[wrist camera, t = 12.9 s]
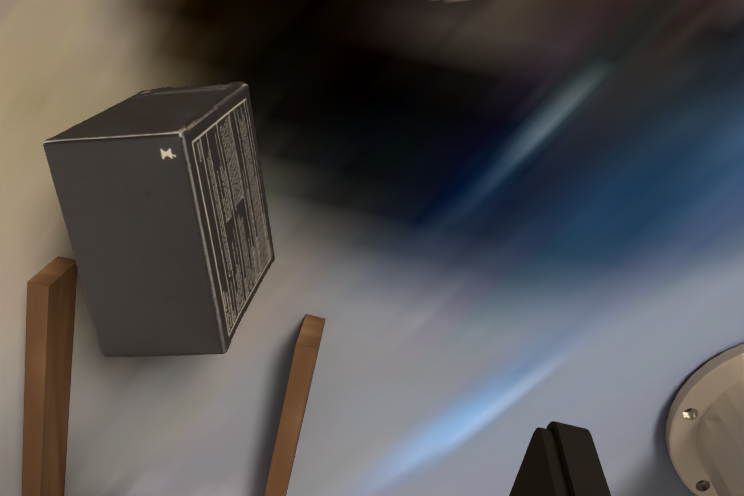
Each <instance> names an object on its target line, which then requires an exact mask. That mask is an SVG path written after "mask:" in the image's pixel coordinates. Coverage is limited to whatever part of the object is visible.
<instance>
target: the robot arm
mask: <svg viewBox="0 0 744 496" xmlns="http://www.w3.org/2000/svg"><path fill="white" fill-rule="evenodd" d="M665 440H666V445H667V450H668V455H669V457H670V459H671V461H672V464H673V466H674V468H675V470H676V472H677V474H678V475H679V477H680V478H681V480H682V482H683V483H684V484H685V485H686V486H687V487H688V488H689V489H690V490H691V491H692V492H693V493H694V494H695V495H697V496H744V344H741V345H739V346H736V347H734V348H732V349H729V350H727V351H725V352H723V353H722V354H720V355H718V356H717V357H715V358H713V359H712V360H710V361H708V362H707V363H706V364H705V365H703V366H702V367H701V368H700V369H699V370H698V371H696V372H695V373H694V374H693V375H692V376H691V377H690V378H689V379H688V381H687V382H686V383H685V384H684V386H683V387H682V388H681V389H680V390H679V392H678V394H677V396H676V398H675V400H674V401H673V403H672V405H671V407H670V411H669V414H668V418H667V421H666V433H665ZM509 496H611V494H610V491H609V488H608V485H607V482H606V479H605V476H604V473H603V470H602V467H601V464H600V461H599V458H598V454H597V451H596V448H595V445H594V442H593V439H592V436H591V434H590V432H589V430H587V429H585V428H580V427H576V426H572V425H567V424H563V423H559V422H554V421H553V422H550V424H549V425H548V426H547V428H546V429H544V428H537V429H536V430H535V431H534V433H533V436H532V438H531V441H530V443H529V446H528V449H527V451H526V454H525V456H524V459H523V461H522V464H521V467H520V469H519V472H518V474H517V477H516V480H515V482H514V485H513V487H512V490H511V492H510V495H509Z"/></svg>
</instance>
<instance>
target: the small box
mask: <svg viewBox="0 0 744 496" xmlns="http://www.w3.org/2000/svg"><path fill="white" fill-rule="evenodd" d="M43 146H44V150H45V153H46V157H47V160H48V164H49V167H50V171H51V175H52V178H53V182H54V185H55V189H56V192H57V196H58V199H59V203H60V206H61V210H62V213H63V217H64V220H65V224H66V228H67V231H68V235H69V238H70V242H71V245H72V249H73V252H74V256H75V260H76V263H77V267H78V271H79V274H80V278H81V281H82V285H83V289H84V292H85V296H86V299H87V303H88V307H89V310H90V314H91V318H92V321H93V325H94V329H95V332H96V336H97V340H98V344H99V347H100V351H101V354H102V356H105V357H140V356H172V355H205V354H225V353H226V352H227V350H228V348H229V346H230V343H231V340H232V338H233V335H234V333H235V330H236V329H237V327H238V325H239V323H240V321H241V318H242V317H243V315H244V313H245V311H246V310H247V308H248V306H249V304H250V302H251V300H252V298H253V296H254V294H255V293H256V291H257V289H258V287H259V285H260V283H261V282H262V280H263V278H264V276H265V274H266V273H267V271H268V269H269V268H270V266H271V264H272V263H273V261H274V260H275V256H274V251H273V243H272V236H271V230H270V223H269V217H268V210H267V203H266V197H265V190H264V184H263V177H262V170H261V164H260V156H259V150H258V144H257V137H256V131H255V125H254V119H253V112H252V107H251V100H250V95H249V86H248V85H247V84H245V83H243V82H242V81H240V82H232V83H228V84H224V85H221V84H216V85H207V86H198V87H195V86H194V87H187V86H186V87H181V88H172V87H167V88H158V89H153V90H147V91H141V92H139V93H138V94H136V95H134V96H132V97H130V98H128V99H126V100H124V101H122V102H120V103H118V104H116V105H114V106H112V107H110V108H109V109H107V110H105V111H103V112H101V113H99V114H97V115H95V116H93V117H91V118H89V119H87V120H85V121H83V122H82V123H80V124H77V125H75V126H73V127H71V128H69V129H68V130H66V131H64V132H62V133H60V134H58V135H56V136H54V137H52V138H49V139H47V140H45V141H44V142H43Z"/></svg>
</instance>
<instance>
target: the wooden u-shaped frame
mask: <svg viewBox="0 0 744 496" xmlns="http://www.w3.org/2000/svg"><path fill="white" fill-rule="evenodd" d="M76 281H77V263H76V261H75V260H71V259H67V258H62V257H57V258H56V259H54V260H53V261H52V262H51V263H50V264H48V265H47V266H46V267H45V268H44V269H42V270H41V271H40V272H39V273H38V274H36V275H35V276H34V277H33V278H32V279H30V280H29V281H28V282H27V315H26V352H25V389H24V427H23V464H22V496H64V486H65V469H66V452H67V435H68V418H69V401H70V383H71V366H72V349H73V332H74V315H75V298H76ZM324 323H325V319H324V318H320V317H315V316H311V315H307V314H306V316H305V319H304V322H303V325H302V328H301V331H300V334H299V337H298V340H297V343H296V346H295V351H294V356H293V361H292V365H291V370H290V375H289V380H288V385H287V390H286V394H285V399H284V404H283V409H282V414H281V418H280V423H279V428H278V433H277V438H276V443H275V447H274V452H273V457H272V462H271V467H270V471H269V476H268V481H267V486H266V491H265V496H286V493H287V489H288V484H289V480H290V475H291V471H292V466H293V462H294V458H295V453H296V449H297V444H298V440H299V435H300V431H301V426H302V422H303V417H304V413H305V408H306V404H307V399H308V395H309V390H310V386H311V381H312V377H313V373H314V368H315V364H316V359H317V355H318V350H319V346H320V341H321V337H322V332H323V328H324Z"/></svg>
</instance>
